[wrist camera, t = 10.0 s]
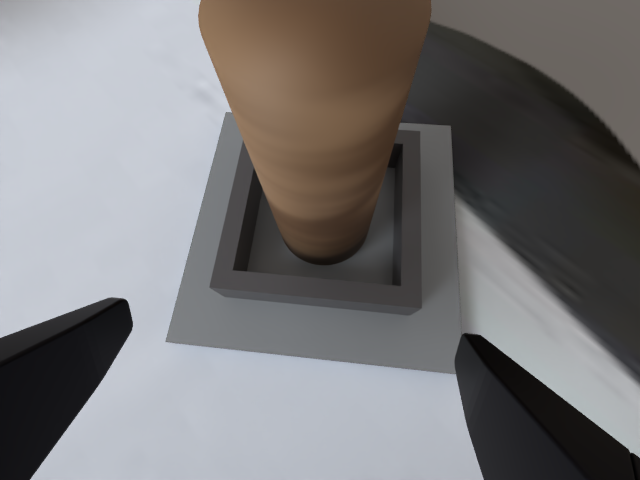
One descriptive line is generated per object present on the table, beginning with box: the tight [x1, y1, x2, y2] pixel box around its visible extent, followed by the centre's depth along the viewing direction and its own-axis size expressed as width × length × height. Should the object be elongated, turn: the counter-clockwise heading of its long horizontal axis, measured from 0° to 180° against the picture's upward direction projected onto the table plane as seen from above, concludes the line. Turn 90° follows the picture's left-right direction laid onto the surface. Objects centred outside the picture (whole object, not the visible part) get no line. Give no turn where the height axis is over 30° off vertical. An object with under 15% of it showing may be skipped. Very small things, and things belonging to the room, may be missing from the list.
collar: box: [166, 112, 462, 374], centre depth 19 cm, size 16×16×4 cm
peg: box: [198, 0, 431, 265], centre depth 14 cm, size 6×6×13 cm
